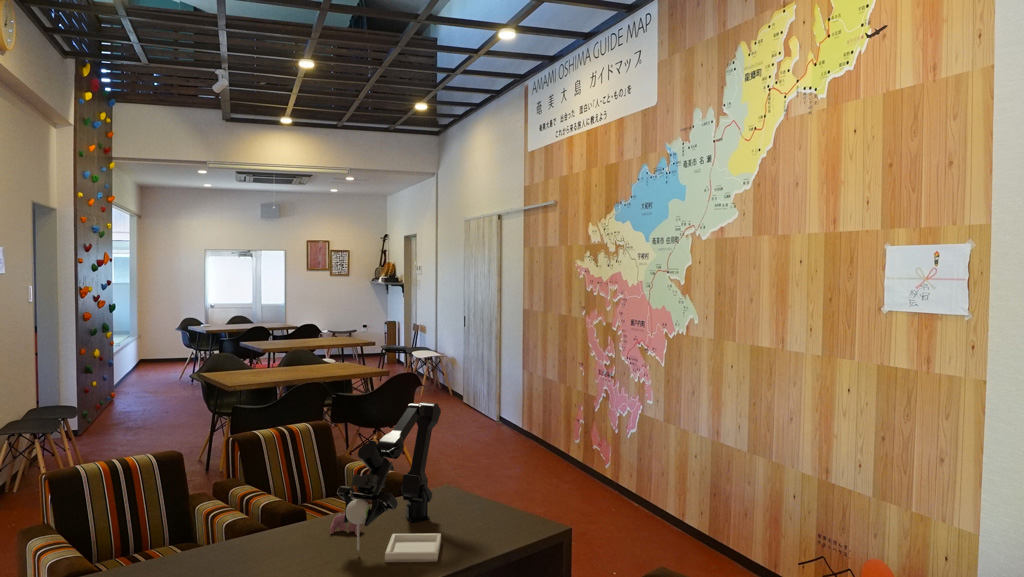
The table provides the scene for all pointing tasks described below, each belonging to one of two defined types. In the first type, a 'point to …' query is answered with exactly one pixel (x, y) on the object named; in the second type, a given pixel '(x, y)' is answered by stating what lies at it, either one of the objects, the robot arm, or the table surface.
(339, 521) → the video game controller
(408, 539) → the tray
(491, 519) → the table surface
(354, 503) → the lollipop
